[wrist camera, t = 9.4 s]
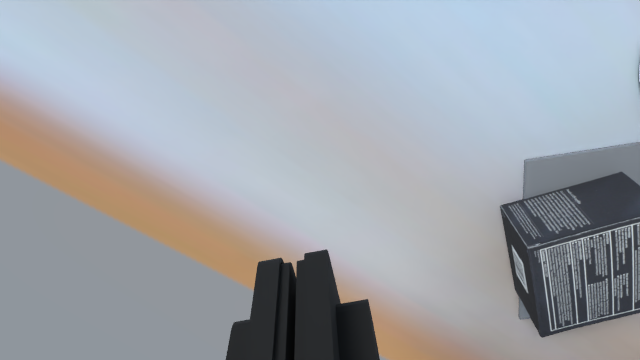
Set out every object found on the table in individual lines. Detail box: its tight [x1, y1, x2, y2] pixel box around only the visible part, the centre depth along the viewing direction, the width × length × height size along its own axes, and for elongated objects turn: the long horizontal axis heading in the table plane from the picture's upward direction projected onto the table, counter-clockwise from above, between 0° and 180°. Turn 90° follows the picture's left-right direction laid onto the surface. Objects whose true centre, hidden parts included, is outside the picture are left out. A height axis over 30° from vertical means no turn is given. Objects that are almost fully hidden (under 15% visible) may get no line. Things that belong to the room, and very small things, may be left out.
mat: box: [519, 142, 640, 319], centre depth 44 cm, size 10×18×1 cm, turn 10°
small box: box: [500, 172, 640, 337], centre depth 40 cm, size 11×6×10 cm
